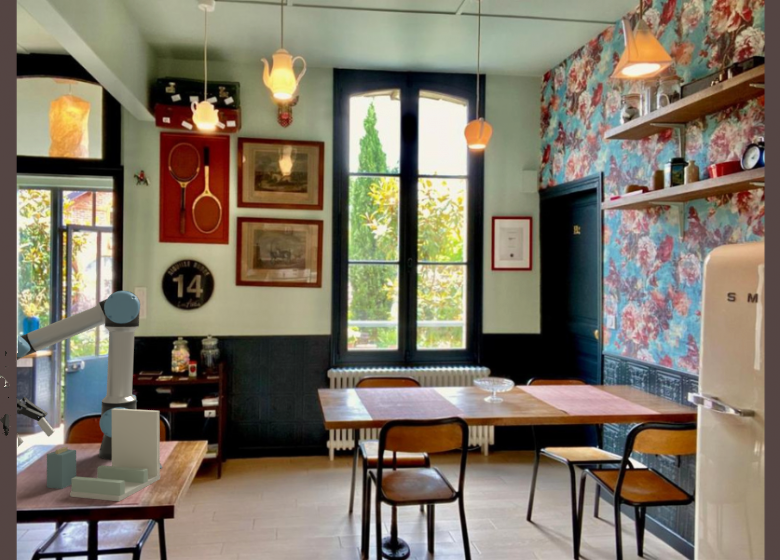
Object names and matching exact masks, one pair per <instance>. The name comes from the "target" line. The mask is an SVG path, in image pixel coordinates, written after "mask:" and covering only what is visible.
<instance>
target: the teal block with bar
mask: <svg viewBox="0 0 780 560" xmlns="http://www.w3.org/2000/svg"><path fill="white" fill-rule="evenodd" d="M76 476H77V449H70V448H69V449H68V446H63V447H61V448H58V449H55V450H54V451H52V452H49V453H47V454H46V488H49V489H58V490H59V489H60V490H63V489H65V488H67V487H70V486H72V478H74V477H76Z"/></svg>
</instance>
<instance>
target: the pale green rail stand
mask: <svg viewBox="0 0 780 560" xmlns="http://www.w3.org/2000/svg"><path fill="white" fill-rule="evenodd" d="M160 428H161V427H160V410H154V409H153V410H152V409H151V410H150V409H149V410H148V409H136V410H134V409H112V459H111V465H99V466H97V469H96V470H97V474H96V476H97V477H88V476H78V475H76V477H74V478H72V485H71V491H70V493H69V497H70V498H71V497H72V498H73V497H74V498H82V499H83V498H84V499H89V500H90V499H91V500H103V501H111V502H112V501H114V502H120V501H123V500H124V499H126V498H128V497H129V496H132V495H133V494H135V493H137V492H139V491H141V490H142V489H143V490H144V489H145V488H146V487H148V486H149V485H151V484H153V483H154V484H155V482H157V481H159V480H160V479H161V469H160V464H161V463H160V462H161V461H160V457H161V456H160V454H161V453H160V451H161V450H160V449H161V448H160V441H161V440H160V439H161V437H160V436H161V435H160Z"/></svg>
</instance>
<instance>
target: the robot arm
mask: <svg viewBox="0 0 780 560" xmlns="http://www.w3.org/2000/svg"><path fill="white" fill-rule="evenodd" d="M140 310H141V301H140V299H139V297H138V295H136V294H135V293H134V292H132V291H129V290H118V291H115V292H113V293H110V295H109V296H108V297H107V298H106V299H104V300H101V301H99V302H98V303H97V305H96V306H93V307H90V308H88V309H85V310H83V311H81V312H78V313H75V314H73V315H70V316H68V317H66V318H62V319H60V320H58V321H55V322H53V323H51V324H48V325H45V326H43V327H40V328H38V329H35V330H32V331H30V332H28V333H25V334H23V335H18V353H17V361H18V360H20V359H22V358H24V357H27V356H29V355H31V354H35V353H36V352H39V351H41V350H43V349H46V348H48V347H51V346H53V345H56V344H58V343H60V342H63V341H65V340H67V339H70V338H73V337H75V336H78V335H80V334H83V333H85V332H87V331H91V330H93V329H94V328H97V327H101V326H102V325H104V328H105V329H106V330H107V331H108V353H107V354H108V355H107V379H106V396H105V397H103V398H102V399H101V410H100V411H101V412H100V413H101V415H100V416H101V417H100V419H99V427H100V430H101V432H102V433H103V436H102V441H101V443H100V447H99V449H98V456H99V458H101V459H106V460H107V459H108V460H110V459H111V460H112V409H134V410H137V402H138V400H137V396H136V395H135V394H133V378H134V377H133V376H134V354H135V353H134V352H135V351H134V349H135V332H136V331H137V329H138V328H140ZM6 354H7V352H6V351H5V356H6ZM5 367H7V366H5ZM7 368H8V367H7ZM1 377H2V378H4V379H5V386H4V388H9V387H8V386H7V385H6V383H9V382H8V381H7V380H6V378H5V377H4V375H2V374H1V375H0V378H1ZM8 398H9V397H8ZM17 414H18V415H23V416H26V417H28V418H30V419H33V420H34V421H37V422H36V423H37V425H38V426H39V428H40V429H41V430H42V431H43V432H44V434H45V435H46V436H47V437H48V438H49V437H51V436H52V435H53V434H54V432H55V430H54V428H53V427H52V426H51V424H50V422H49V421H48V420H47V419H46V417H47V415H49V414H48V412H47V411H45V410H44V409H42V408H41V407H39V406H38V405H36V404H34V403H33V402H32V401H30V400H29V399H28V398H27V397H26V396H24V397H22V398H21V399H19V398H17ZM17 414H16V415H17ZM0 421H1V422H2V423H3V429H4V431H5V432H4V433H5V434H4V433H3V434H4V436H5V437H6V436H7V435H8V433H9V432H8V431H9V427H10V426H9V425H10V420H9V415H8V414H5V415H4V417H3V418H2V417H1V419H0ZM23 443H24V440H23V439H22V438H21V436H20V435H19V434H18V447H17V448H19V447H20V446H21V445H22V444H23Z"/></svg>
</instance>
